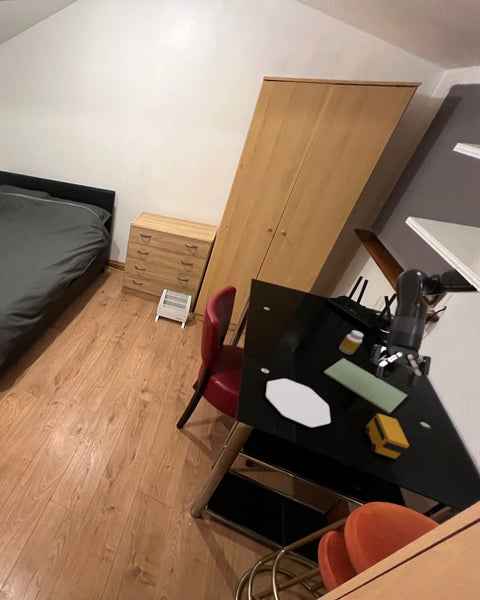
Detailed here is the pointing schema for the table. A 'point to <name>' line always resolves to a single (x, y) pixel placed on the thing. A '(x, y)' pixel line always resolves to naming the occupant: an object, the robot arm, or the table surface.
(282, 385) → the plate
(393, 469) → the table surface
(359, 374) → the mat
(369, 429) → the toy bus
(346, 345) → the supplement bottle
